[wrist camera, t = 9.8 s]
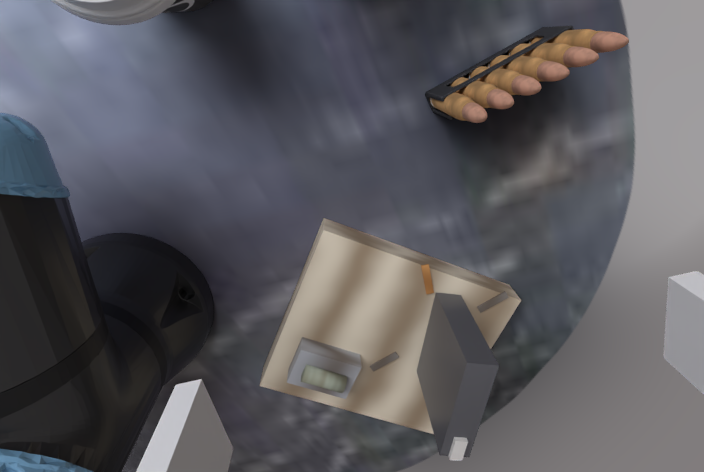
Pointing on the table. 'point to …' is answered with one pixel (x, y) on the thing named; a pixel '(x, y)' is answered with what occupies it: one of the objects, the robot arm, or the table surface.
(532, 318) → the table surface
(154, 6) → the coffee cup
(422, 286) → the instrument base
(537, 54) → the ammunition clip
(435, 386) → the dark grey block
